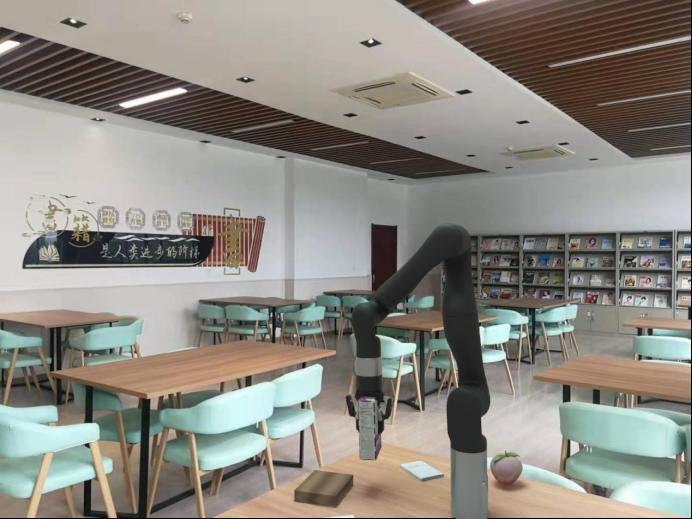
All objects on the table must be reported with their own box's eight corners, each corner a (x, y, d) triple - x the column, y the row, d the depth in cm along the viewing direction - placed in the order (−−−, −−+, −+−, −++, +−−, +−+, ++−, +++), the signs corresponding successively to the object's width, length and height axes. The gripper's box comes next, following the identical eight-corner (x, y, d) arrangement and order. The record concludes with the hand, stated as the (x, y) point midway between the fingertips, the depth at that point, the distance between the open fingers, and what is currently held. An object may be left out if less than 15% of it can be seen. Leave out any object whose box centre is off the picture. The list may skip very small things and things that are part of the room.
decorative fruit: (506, 476, 163) (505, 443, 163) (527, 486, 156) (527, 451, 156) (483, 483, 158) (482, 449, 158) (504, 493, 151) (504, 457, 151)
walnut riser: (353, 485, 157) (353, 474, 157) (335, 507, 143) (335, 496, 143) (315, 479, 161) (315, 469, 161) (294, 501, 147) (294, 490, 147)
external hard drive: (421, 483, 160) (399, 469, 171) (444, 479, 163) (421, 464, 174) (421, 478, 160) (399, 463, 171) (444, 473, 163) (421, 459, 174)
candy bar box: (364, 446, 159) (364, 390, 159) (381, 447, 158) (381, 391, 158) (358, 460, 148) (357, 400, 148) (376, 461, 147) (375, 400, 147)
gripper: (396, 371, 154) (397, 430, 154) (349, 368, 159) (350, 426, 158) (390, 376, 147) (391, 438, 147) (340, 373, 152) (341, 434, 151)
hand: (370, 432), depth 153 cm, fingers closed on candy bar box, 5 cm apart
